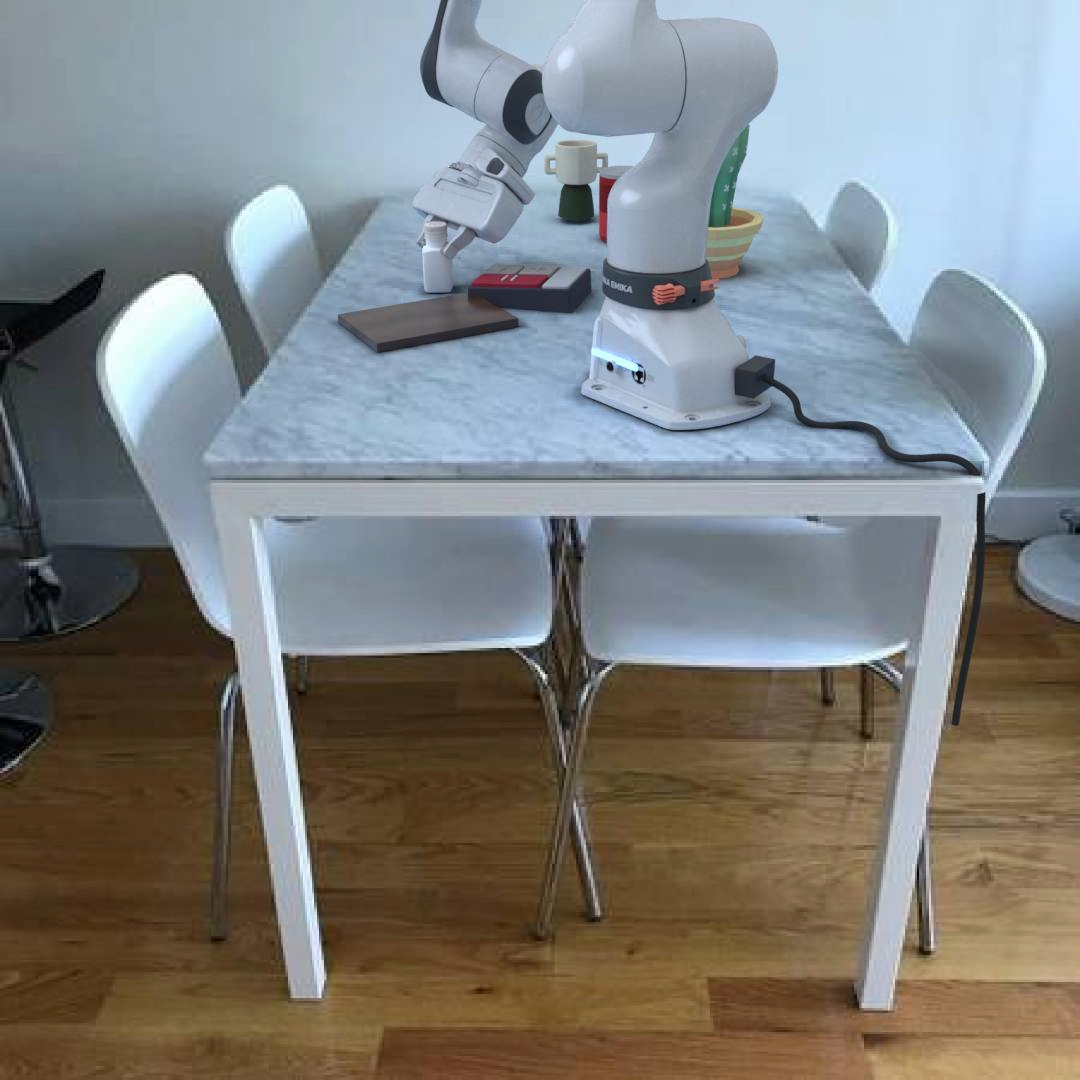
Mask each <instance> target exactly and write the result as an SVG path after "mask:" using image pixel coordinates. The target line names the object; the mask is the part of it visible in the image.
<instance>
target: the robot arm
mask: <svg viewBox="0 0 1080 1080" xmlns="http://www.w3.org/2000/svg"><path fill="white" fill-rule="evenodd" d="M482 2H483V0H440V2H439V5H438V9H437V13H436V17H435V21H434V24H433V27H432V29H431V33H430V35H429V37H428V39H427V41H426V43H425V46H424V48H423V50H422V51H423V52H422V54H421V56H420V57H421V58H420V62H419V71H420V72H419V73H420V77H421V81H422V84H423V88H424V90H425V93H426V94H427V95H428V96H429V97H430V98H431V99H433V100H435V101H437V102H439V103H442V104H444V105H447V106H449V107H451V108H454V109H456V110H459V111H461V112H462V113H464V114H466V115H467V116H469V117H471V118H473V119H474V120H476V121H478V122H480V123H483V124H485V126H484V127H483V128H481V129H480V130H479V131H478V132H477V133H476V134H475V135H474V136H473V138H472V139H471V141H470V142H469V144H468V145H467V146H466V148H465V149H464V151H463V153H462V154H461V155H460V157H459V158H458V160H457V161H456V162H452V163H450V164H449V165H447V166H444V167H442V168H439V169H437V170H436V171H435V172H434V173H433V174H432V175H431V176H430V177H429V178H428V180H427V181H426V182H425V183H424V185H423V186H422V187H421V188H420V189H419V191H418V192H417V194H415V196H414V198H413V200H412V206H411V207H412V208H413V210H415V211H416V212H417V213H418V214H419V215H420V216H421V217H422V218H423V219H424V220H423V224H422V229H421V233H420V234H419V235H418V237H417V238H416V240H415V244H416V245H417V246H418V247H419V248H420V249H423V246H425V245H426V238H425V232H424V224H425V223H428V222H434V221H440V222H445V223H446V224H447V228H448V229H452V230H454V231H456V235H455V236H453V237H452V239H450V240H449V241H447V242H445V243H444V245H443V247H442V248H441V249H440V253H441V254H442V255H443V256H444V257H446V258H448V259H451V260H452V261H453V260H454V259H455V258H456V256H457V255H458V253H459V252H460V251H462V250H463V249H465V248H466V247H468V246H469V245H470V244H472V242H473V241H474V240H475V238H476V239H479V240H483V241H486V242H487V243H491V244H497V243H499V242H501V241H502V240H504V238H505V237H506V236H507V235H508V234H509V232H510V231H511V230H512V228H513V227H514V225H515V224H516V223H517V221H518V220H519V219H520V216H521V215H522V213H523V211H524V206H527V205H529V204H530V203H531V202H532V201H533V199H534V198H535V195H536V193H535V191H534V190H533V188H531V186H529V184H528V183H527V182H526V180H524V179H523V178H524V176H525V175H526V174H527V172H528V169H529V167H530V164H531V162H532V160H533V159H534V158H535V156H537V155H538V154H539V153H541V152H542V151H543V149H544V147H546V145H547V143H548V142H549V140H550V138H551V137H552V136H553V135H554V133H555V131H556V129H557V127H558V126H560V128H562V129H563V130H564V131H566V132H570V133H576V134H581V135H589V136H597V137H606V138H612V137H622V136H624V137H625V136H634V135H635V136H636V135H645V134H654V136H653V138H652V142H651V144H650V147H648V150H647V151H646V153H645V154H644V156H643V157H642V158H641V160H640V161H639V162H638V163H637V164H635V165H633V166H634V167H633V168H631V169H630V170H628V171H627V172H625V173H624V174H623V175H621V176H620V177H619V178H618V179H617V181H616V182H615V183H614V185H613V187H612V189H611V191H610V193H609V196H608V203H607V242H606V258H604V260H603V262H602V271H601V282H602V284H601V285H602V286H601V291H602V293H603V294H604V301H603V304H602V307H601V309H600V311H599V314H598V315H597V316H596V318H595V321H594V325H593V333H592V344H591V356H590V365H589V366H590V367H589V368H590V369H589V377H588V378H587V379H585V380H584V381H583V383H581V389H580V393H581V395H582V396H585V397H587V398H590V399H592V400H595V401H597V402H599V403H602V404H604V405H606V406H609V407H612V408H614V409H617V410H619V411H621V412H624V413H626V414H629V415H631V416H633V417H636V418H639V419H641V420H644V421H646V422H648V423H650V424H653V425H655V426H658V427H660V428H663V429H667V430H671V431H688V430H689V431H691V430H700V429H701V430H702V429H709V428H715V427H721V426H725V425H729V424H734V423H737V422H741V421H746V420H747V419H752V418H754V417H756V416H759V415H760V414H761V415H762V414H763V413H764V412H766V411H768V410H769V409H770V408H771V397H769V396H768V395H767V394H766V393H765V392H766V391H767V390H769V389H770V388H774V389H776V390H778V391H780V392H781V393H783V394H784V395H785V396H786V397H787V398H788V399H789V400H790V402H791V404H792V408H793V413H794V415H795V418H796V419H797V421H799V422H800V423H801V424H802V425H804V426H806V427H809V428H815V429H829V430H831V429H832V430H834V429H835V430H837V429H839V430H843V429H844V430H845V429H856V430H862V431H865V432H868V433H870V434H871V435H873V436H874V437H875V439H876V441H877V443H878V446H879V448H880V449H881V451H882V452H883V453H884V454H885V455H887V456H888V457H890V458H892V459H894V460H896V461H900V462H903V463H915V464H917V463H933V462H947V463H953V464H956V465H959V466H960V467H963V468H964V469H965V470H966V471H967V472H968V473H969V474H970V475H971V476H976V477H980V476H982V474H981V473H980V471H979V469H978V468H977V467H976V465H974V464H973V463H972V462H971V461H969V460H968V459H967V458H964V457H962V456H961V455H957V454H954V453H953V454H952V453H944V452H941V453H922V454H921V453H920V454H909V453H903V452H899V451H897V450H895V449H893V448H892V447H891V446H890V445H889V444H888V442H887V440H886V438H885V435H884V433H883V432H882V431H881V430H880V429H879V428H878V427H876V426H874V425H873V424H871V423H869V422H868V423H867V422H865V421H860V420H842V421H841V420H840V421H829V422H828V421H827V422H826V421H825V422H824V421H818V420H813V419H811V418H809V417H807V416H805V415H804V413H803V411H802V405H801V402H800V401H801V400H800V398H799V397H798V395H797V394H796V393H795V392H794V391H793V390H792V389H791V388H790V387H788V386H787V385H785V384H784V383H782V382H781V381H778V380H776V379H775V368H776V358H771V357H765V356H761V355H754V356H752V357H751V358H750V357H749V352H748V350H747V341H746V339H745V336H743V335H740V334H739V335H737V334H736V332H735V331H734V330H733V328H732V326H731V324H730V323H729V322H728V320H727V319H726V317H725V315H724V314H723V312H722V311H721V310H720V308H719V307H718V304H717V303H716V301H715V299H714V298H715V296H716V292H715V290H718V289H720V286H714V284H717V283H719V282H720V281H721V280H720V278H718V279H713V277H712V272H711V270H710V265H709V262H708V260H707V259H706V248H707V235H708V223H709V214H710V205H711V198H712V193H713V188H714V185H715V181H716V178H717V175H718V173H719V170H720V168H721V166H722V163H723V161H724V159H725V157H726V155H727V153H728V152H729V150H730V148H731V146H732V145H733V143H734V142H735V140H736V139H737V137H738V136H739V135H740V133H741V132H742V131H743V130H744V129H745V127H746V126H747V125H748V124H749V125H750V123H751V122H753V120H755V119H756V118H758V116H759V115H761V114H762V113H763V112H764V111H765V110H766V108H767V107H768V105H769V103H770V102H771V100H772V98H773V96H774V93H775V90H776V87H777V83H778V79H779V63H778V56H777V51H776V48H775V46H774V44H773V41H772V40H771V38H770V36H769V35H768V33H767V32H766V31H765V30H764V29H763V28H762V27H761V26H760V25H758V24H755V23H750V22H746V21H743V20H742V21H741V20H738V19H731V18H725V17H718V16H717V17H698V18H697V17H696V18H678V19H660V17H659V15H658V12H657V4H656V3H657V2H656V0H582V1H581V2H580V6H579V8H578V10H577V13H576V15H575V16H574V18H573V20H572V21H571V23H570V24H569V25H568V26H567V27H566V29H565V30H564V31H563V32H562V33H561V34H560V35H559V36H558V37H557V38H556V40H555V41H554V42H553V44H551V47H550V48H549V50H548V52H547V55H546V57H545V60H544V64H539V63H536V64H531V63H529V62H526V61H525V60H523V59H521V58H519V57H517V56H515V55H513V54H511V53H508V52H506V50H505V51H504V50H503V49H501V48H499V47H498V46H496V45H494V44H492V43H490V42H487V41H486V40H484V38H483V37H482V36H481V35H480V33H479V32H478V30H477V27H476V26H477V25H476V23H477V20H478V16H479V13H480V9H481V6H482ZM975 517H976V522H975V523H976V562H975V563H976V564H975V580H974V589H973V598H972V605H971V611H970V617H969V622H968V629H967V634H966V639H965V644H964V648H963V655H962V660H961V664H960V669H959V675H958V678H957V679H958V680H957V685H956V690H955V691H956V692H955V695H954V701H953V702H954V703H953V708H952V717H951V725H952V726H955V727H958V726H960V721H961V713H962V706H963V701H964V694H965V689H966V685H967V678H968V673H969V668H970V663H971V658H972V654H973V649H974V643H975V638H976V634H977V628H978V624H979V623H978V622H979V618H980V612H981V604H982V597H983V589H984V588H983V587H984V577H985V564H986V563H985V561H986V523H985V521H986V518H985V517H986V491H984V492H981V493H977V494H976V515H975Z"/></svg>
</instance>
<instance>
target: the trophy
mask: <svg viewBox="0 0 1080 1080" xmlns="http://www.w3.org/2000/svg"><path fill="white" fill-rule="evenodd" d="M554 147H555V149H554V150H555V154H554V153H553V154H546V155H545V156H544V158H543V159H544V160H543V162H544V163H543V165H544V174H545V175H547V176H549V175H550V176H551V175H552V176H553V175H555V178H556V179H555V180H556V181H557V182H558V183H560V184H563V185H562V187H561V190H560V196H559V204H558V215H557V216H558V217H559V218H560V219H563V220H566V221H567V222H569V221H571V222H583V221H587V220H590V219H592V218H594V216H595V208H594V207H595V206H594V198H593V191H592V188H591V185H590V184H592V183H594V182H596V179H597V177H598V174H600V170H601V169H603V168H605V167H609V154H608V153H606V152H598V142H596V141H593V140H589V139H588V140H587V139H566V140H560V141H557V142H556V143H555V146H554ZM598 160H602V161H601V162H602V163H601V166H598ZM551 161H555V168H551Z"/></svg>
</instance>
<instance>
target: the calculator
mask: <svg viewBox="0 0 1080 1080" xmlns="http://www.w3.org/2000/svg"><path fill="white" fill-rule="evenodd" d="M592 292H593V290H592V272H591V268H587V266H562V267H560V265H559V264H527V265H526V266H525V264H513V263H510V264H509V263H508V264H507V263H506V264H505V263H494V264H492V265H491V266H490V267H488V268H487V269H486V270H485V271H484V272H483V273H481V274H480V275H479V276H477V277H476V278H475V279H474V280H472V281H471V283H470V284H469V285H468V286H467V287H466V293H468V296H469V297H479V298H484V299H486V300H487V301H489V302H491V303H493V304H494V305H496V306H498V307H500V308H501V309H509V310H523V311H524V310H526V311H540V312H546V313H556V314H557V313H558V314H572V313H574V312H575V311H576V309H577V308H578V307H579V306H580V305H581V304H582V303H583V302H584V301H585V300H586V299H587V298H588V297H589V295H591V294H592Z"/></svg>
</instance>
